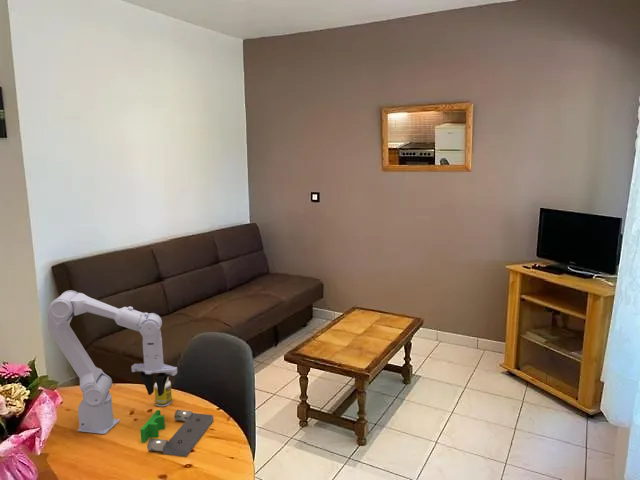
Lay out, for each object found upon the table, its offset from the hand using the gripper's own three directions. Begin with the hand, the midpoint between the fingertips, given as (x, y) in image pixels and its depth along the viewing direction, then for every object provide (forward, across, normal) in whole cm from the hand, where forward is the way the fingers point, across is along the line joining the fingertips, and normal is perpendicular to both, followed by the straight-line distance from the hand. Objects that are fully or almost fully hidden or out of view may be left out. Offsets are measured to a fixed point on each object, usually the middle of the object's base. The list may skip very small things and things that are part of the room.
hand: (156, 394), depth 155 cm
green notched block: (+10, +2, -6) cm, 12 cm away
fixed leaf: (+9, +11, -6) cm, 16 cm away
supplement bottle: (+10, -4, +11) cm, 15 cm away
